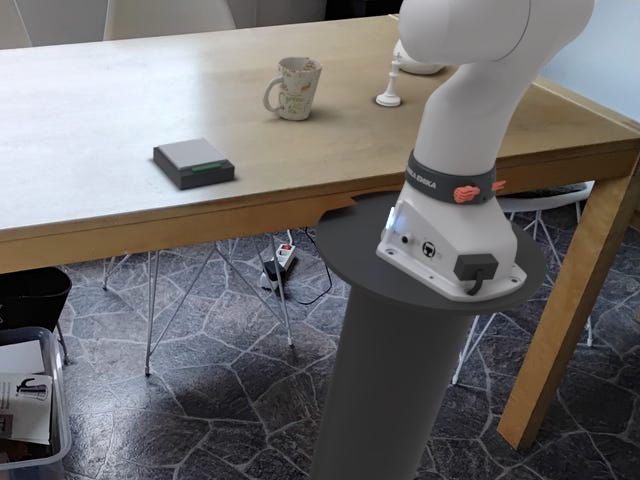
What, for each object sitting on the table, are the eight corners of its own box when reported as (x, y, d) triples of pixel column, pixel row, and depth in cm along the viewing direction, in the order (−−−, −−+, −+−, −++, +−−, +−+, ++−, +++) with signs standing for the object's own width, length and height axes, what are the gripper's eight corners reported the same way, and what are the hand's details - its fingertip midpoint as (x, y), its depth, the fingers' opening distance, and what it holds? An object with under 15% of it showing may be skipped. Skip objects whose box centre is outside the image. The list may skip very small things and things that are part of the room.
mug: (323, 117, 145) (331, 65, 138) (276, 131, 139) (282, 78, 133) (294, 103, 150) (301, 53, 143) (248, 116, 144) (252, 65, 138)
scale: (234, 179, 124) (235, 163, 122) (180, 189, 121) (181, 173, 119) (203, 151, 132) (204, 135, 130) (153, 160, 129) (153, 144, 127)
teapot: (464, 82, 160) (478, 34, 153) (412, 85, 158) (423, 36, 151) (425, 52, 175) (436, 7, 168) (376, 54, 173) (385, 9, 166)
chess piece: (398, 107, 149) (410, 57, 142) (374, 104, 150) (384, 54, 143) (401, 99, 152) (412, 50, 146) (377, 96, 153) (387, 46, 147)
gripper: (365, -93, 135) (351, -12, 144) (445, -72, 122) (424, 16, 131) (391, -95, 137) (376, -15, 146) (472, -75, 124) (450, 11, 133)
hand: (399, 0), depth 138 cm, fingers open, 8 cm apart
